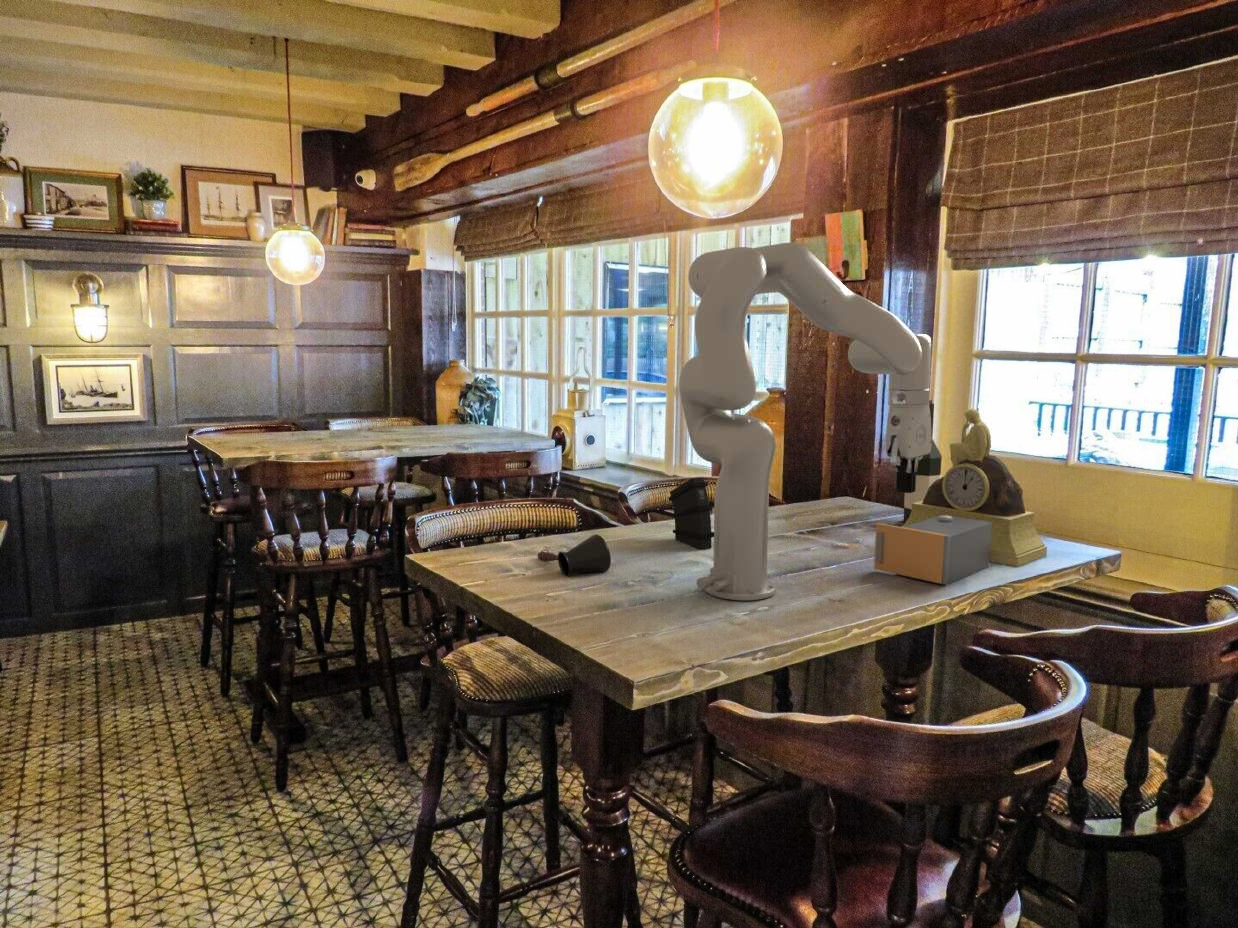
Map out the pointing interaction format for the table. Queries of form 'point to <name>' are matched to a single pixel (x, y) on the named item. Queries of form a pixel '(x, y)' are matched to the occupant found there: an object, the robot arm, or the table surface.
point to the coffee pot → (582, 557)
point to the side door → (912, 552)
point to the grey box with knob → (961, 543)
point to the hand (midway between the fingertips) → (905, 491)
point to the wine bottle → (924, 473)
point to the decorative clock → (983, 497)
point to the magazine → (692, 514)
